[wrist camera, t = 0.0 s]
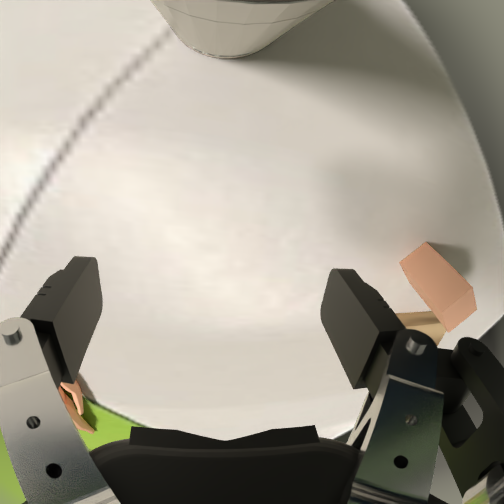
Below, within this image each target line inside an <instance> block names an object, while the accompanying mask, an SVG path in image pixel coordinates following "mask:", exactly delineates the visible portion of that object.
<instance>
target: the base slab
mask: <svg viewBox="0 0 504 504" xmlns="http://www.w3.org/2000/svg"><path fill="white" fill-rule="evenodd" d="M396 315H397V317H398V318H399V319H400V321H401V322H402V323H403V324H404V326H405V327H406V328H407V329H414V330H418V331H421V332H423V333H425V334H427V335H428V336H430V337H431V338H432V339H433V340H434V341H435V343H436V345H437V346H438V344H439V342H440V341H441V339H442V337H443V336H444V334H445V332H446V329H445V328H444V326H443V325H442V324H441V322H440V321H439V320H438V318H437V317H436V316H435V314H434V313H433V312H432V311H427V312H412V313H396Z"/></svg>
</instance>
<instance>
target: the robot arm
mask: <svg viewBox="0 0 504 504" xmlns="http://www.w3.org/2000/svg"><path fill="white" fill-rule="evenodd" d="M150 1H151V2H152V3H153V4H154V6H155V7H156V8H157V10H158V11H159V12H160V14H161V15H162V16H163V18H164V19H165V20H166V22H167V23H168V24H169V26H170V27H171V28H172V30H173V31H174V32H175V34H176V35H177V37H178V38H179V39H180V40H181V41H182V42H183V43H184V44H185V45H186V46H188V47H189V48H191V49H193V50H194V51H196V52H198V53H201V54H203V55H206V56H209V57H215V58H238V57H243V56H247V55H250V54H253V53H255V52H258V51H259V50H261V49H263V48H264V47H266V46H267V45H269V44H270V43H272V42H273V41H274V40H276V39H277V38H279V37H280V36H282V35H283V34H284V33H286V32H287V31H289V30H290V29H292V28H293V27H294V26H296V25H297V24H299V23H300V22H302V21H303V20H305V19H306V18H308V17H309V16H311V15H312V14H314V13H315V12H317V11H319V10H320V9H322V8H323V7H325V6H327V5H328V4H330V3H331V2H333V1H335V0H150ZM101 312H102V292H101V286H100V279H99V271H98V264H97V260H96V258H94V257H79V256H74V257H73V258H72V260H71V261H70V262H69V263H68V265H67V266H66V267H65V269H64V270H59V271H57V272H56V273H54V274H53V275H51V276H50V277H49V278H48V279H47V281H46V282H45V283H44V285H43V288H42V287H41V289H40V290H39V291H38V293H37V295H35V297H34V298H33V300H32V301H31V302H30V304H29V305H28V307H27V308H26V310H25V311H24V312H23V314H22V315H21V317H16V318H10V319H7V320H4V321H2V322H1V323H0V427H1V431H2V434H3V438H4V441H5V444H6V447H7V451H8V454H9V457H10V460H11V462H12V465H13V468H14V471H15V473H16V476H17V478H18V481H19V484H20V486H21V489H22V491H23V493H24V495H25V498H26V501H25V502H24V503H22V504H448V503H446V502H444V501H442V500H440V499H438V498H437V497H435V496H433V495H431V494H430V489H431V484H432V479H433V474H434V469H435V464H436V458H437V453H438V446H440V448H441V451H442V453H443V455H444V457H445V459H446V461H447V464H448V466H449V468H450V470H451V472H452V475H453V477H454V479H455V482H456V484H457V486H458V488H459V491H460V493H461V496H462V498H463V502H462V504H504V368H503V366H502V365H501V364H500V363H499V361H498V360H497V359H496V357H495V356H494V355H493V354H492V352H491V351H490V350H489V349H488V347H487V346H485V345H484V344H483V343H482V342H480V341H479V340H476V339H474V338H470V337H464V338H461V339H460V340H459V341H458V343H457V345H456V347H455V348H454V350H449V349H441V348H438V347H437V345H436V343H435V341H434V340H433V339H432V338H431V337H430V336H428V335H427V334H425V333H423V332H421V331H418V330H414V329H407V328H406V327H405V326H404V324H403V323H402V322H401V321H400V319H399V318H398V317H397V315H396V314H395V313H394V312H393V310H392V309H391V308H389V305H388V304H387V303H386V301H384V299H383V298H382V296H381V295H380V294H379V293H378V291H377V290H375V289H374V288H373V287H371V286H370V285H368V284H367V283H364V281H363V280H362V279H361V278H360V276H359V275H358V274H357V273H356V271H355V270H353V269H332V270H331V272H330V274H329V278H328V282H327V286H326V289H325V293H324V297H323V301H322V305H321V321H322V324H323V326H324V328H325V330H326V332H327V334H328V336H329V338H330V340H331V343H332V345H333V347H334V349H335V351H336V353H337V355H338V357H339V359H340V362H341V364H342V366H343V368H344V370H345V372H346V374H347V377H348V379H349V381H350V383H351V385H352V387H353V389H359V388H366V387H367V388H368V390H369V392H368V394H367V396H366V398H365V400H364V403H363V405H362V408H361V411H360V413H359V416H358V418H357V421H356V423H355V426H354V428H353V431H352V433H351V435H350V438H349V440H348V442H347V444H345V443H343V442H339V441H336V440H333V439H327V438H321V437H318V434H317V431H316V428H315V425H312V426H303V427H293V428H282V429H271V430H268V431H264V432H260V433H257V434H253V435H249V436H245V437H241V438H237V439H233V440H228V441H223V440H217V439H212V438H208V437H203V436H199V435H195V434H191V433H187V432H183V431H179V430H169V429H155V428H144V427H134V426H131V433H130V439H123V440H119V441H114V442H111V443H108V444H105V445H102V446H100V447H98V448H96V449H94V450H92V451H89V450H88V448H87V446H86V444H85V442H84V441H83V439H82V437H81V435H80V433H79V431H78V430H77V428H76V426H75V424H74V422H73V420H72V418H71V416H70V414H69V412H68V410H67V407H66V405H65V403H64V401H63V399H62V397H61V394H60V392H59V390H58V389H59V387H60V384H61V382H63V383H69V384H74V383H75V380H76V377H77V374H78V372H79V369H80V366H81V363H82V361H83V358H84V355H85V353H86V350H87V348H88V345H89V343H90V340H91V338H92V335H93V333H94V330H95V328H96V325H97V323H98V320H99V318H100V316H101ZM470 393H472V394H473V396H474V397H475V399H476V400H477V402H478V404H479V405H480V407H481V409H482V411H483V421H482V424H481V425H480V427H479V428H478V429H476V427H475V425H474V423H473V422H472V420H471V418H470V416H469V415H468V413H467V411H466V410H465V408H464V406H463V405H462V404H463V403H464V401H465V400H466V399H467V397H468V396H469V395H470Z"/></svg>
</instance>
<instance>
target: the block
mask: <svg viewBox="0 0 504 504" xmlns="http://www.w3.org/2000/svg"><path fill="white" fill-rule="evenodd" d="M399 263H400V265H401V267H402V269H403V271H404V273H405V275H406V277H407V279H408V281H409V283H410V284H411V285H412V287H413V288H414V289H415V290H416V292H417V293H418V294H419V295H420V297H421V298H422V299H423V300H424V302H425V303H426V304H427V305H428V307H429V308H430V309H431V311H432V312H433V313H434V314H435V316H436V317H437V318H438V320H439V321H440V322H441V324H442V325H443V326H444V328H445V329H446V330H447V332H448V333H449V332H450V331H451V330H453V329H454V328H455V327H456V326H458V325H459V324H460V323H461V322H463V321H464V320H465V319H466V318H467V317H469V316H470V315H471V314H472V313H473V312H474V311H476V310H477V307H476V302H475V297H474V292H473V287H472V286H471V285H470V284H469V283H468V282H467V281H466V280H465V279H464V278H463V277H462V276H461V275H460V274H459V273H458V272H457V271H456V270H455V269H454V268H453V267H452V266H451V265H450V264H449V263H448V262H447V261H446V260H445V259H444V258H443V257H442V256H441V255H440V254H439V253H437V252H436V251H435V250H434V249H433V248H432V247H431V246H430V245H429V244H428V243H427V242H425V243H424V244H422V245H421V246H420V247H419V248H417V249H416V250H415V251H414V252H412V253H411V254H410V255H408V256H407V257H406V258H405V259H403V260H402V261H401V262H399Z"/></svg>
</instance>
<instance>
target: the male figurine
mask: <svg viewBox="0 0 504 504" xmlns="http://www.w3.org/2000/svg"><path fill="white" fill-rule="evenodd" d="M60 385H61V386H62V387H63V388H64V389H65V390H66V391H68V392H70V393H72V396H73V399H74V402H75V404H76V406H77V409H78V412H77V411H76V408H75V406H74V403H73V401H72V400H71V399H70V398H69V397H68V396H67V395H66V394H65V393H64V392H63V390H62V388H61V387H59V389H58V390H59V392H60V394H61V397H62V399H63V401H64V403H65V405H66V407H67V410H68V412H69V414H70V416H71V418H72V420H73V422H74V424H75V426H76V428H77V429H79V430H84V431H87V432H89V433H91V434H93V433H94V432H95V431H94V429H93V428H92V427H91V426H89V424H88V423H87V422H86V421H85V420H84V419H83V418H82V417H81V416H80V415H82V414H83V413H84V411H83V399H82V392H81V389H80V386H79V384H78V382H77V381H76V380H75V383H74V384H69V383H63V382H61V384H60Z"/></svg>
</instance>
